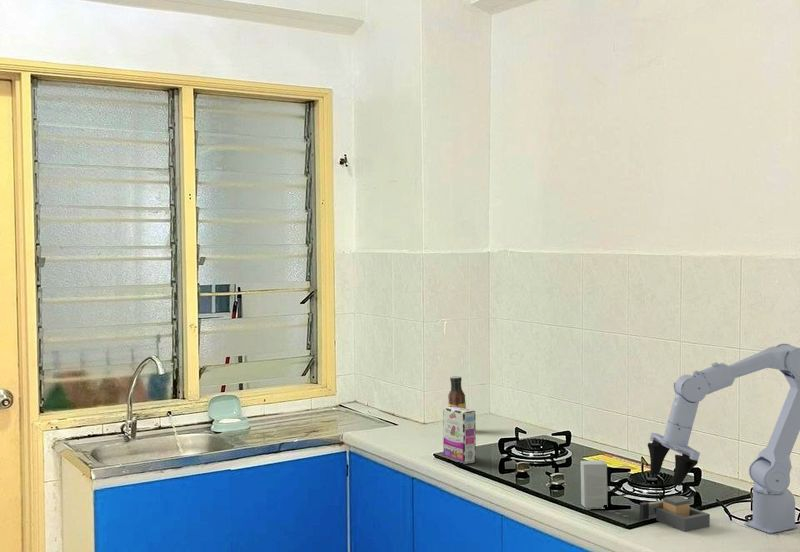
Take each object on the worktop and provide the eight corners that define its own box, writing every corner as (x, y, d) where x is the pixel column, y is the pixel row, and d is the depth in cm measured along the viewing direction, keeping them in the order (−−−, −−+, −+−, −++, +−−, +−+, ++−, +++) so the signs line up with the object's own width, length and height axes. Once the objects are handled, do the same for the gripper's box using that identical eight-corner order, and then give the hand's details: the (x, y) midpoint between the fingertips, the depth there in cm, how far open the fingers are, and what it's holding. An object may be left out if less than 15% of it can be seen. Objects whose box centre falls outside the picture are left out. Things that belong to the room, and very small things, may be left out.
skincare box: (603, 505, 234) (603, 459, 234) (607, 510, 230) (607, 464, 229) (580, 505, 234) (580, 460, 233) (584, 510, 230) (584, 464, 229)
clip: (681, 510, 227) (681, 495, 227) (685, 512, 225) (685, 496, 225) (639, 519, 221) (639, 503, 221) (643, 520, 219) (643, 504, 219)
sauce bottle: (467, 429, 326) (466, 375, 325) (466, 433, 320) (466, 378, 319) (449, 429, 327) (448, 375, 326) (448, 433, 321) (447, 378, 320)
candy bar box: (476, 462, 279) (476, 410, 278) (464, 465, 276) (463, 412, 275) (455, 455, 288) (454, 405, 288) (442, 458, 286) (442, 407, 285)
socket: (681, 512, 227) (681, 500, 227) (715, 525, 217) (715, 513, 217) (650, 518, 223) (650, 506, 223) (684, 531, 213) (684, 519, 212)
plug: (676, 517, 224) (676, 495, 223) (689, 522, 220) (689, 500, 219) (663, 520, 222) (663, 498, 221) (675, 525, 218) (675, 502, 217)
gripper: (646, 413, 218) (632, 467, 219) (689, 431, 206) (674, 488, 206) (668, 417, 222) (653, 470, 222) (711, 435, 209) (696, 491, 209)
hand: (665, 479), depth 214 cm, fingers open, 7 cm apart
